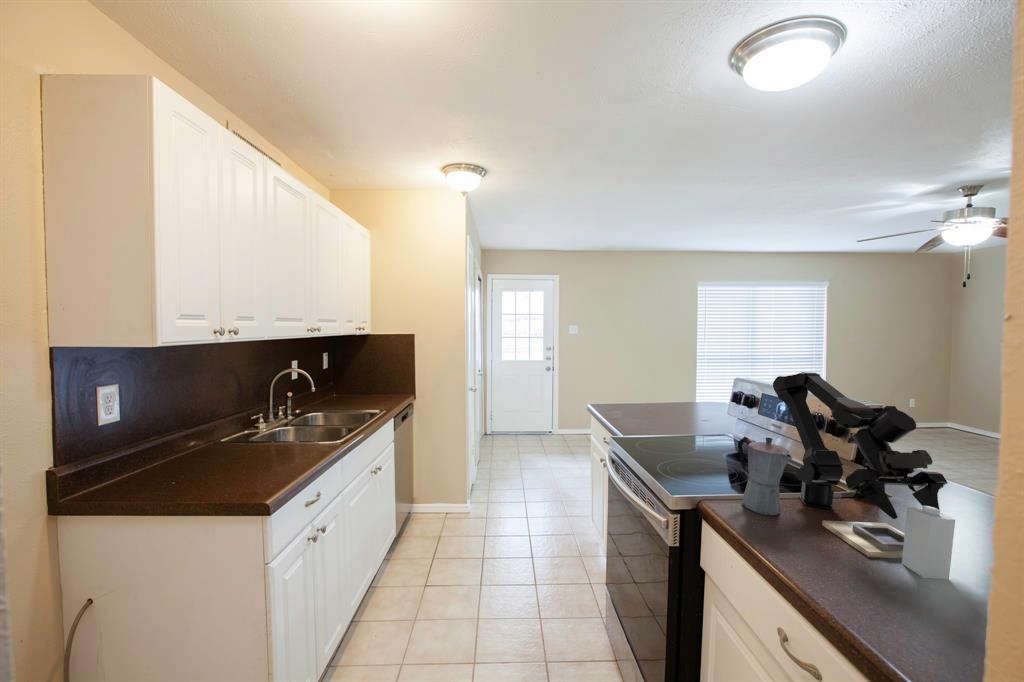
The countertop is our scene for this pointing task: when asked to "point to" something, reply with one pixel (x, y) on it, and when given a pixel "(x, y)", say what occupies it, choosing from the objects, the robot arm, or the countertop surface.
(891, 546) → the baseplate
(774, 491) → the moka pot
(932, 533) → the white rectangular bottle
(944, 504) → the countertop surface
